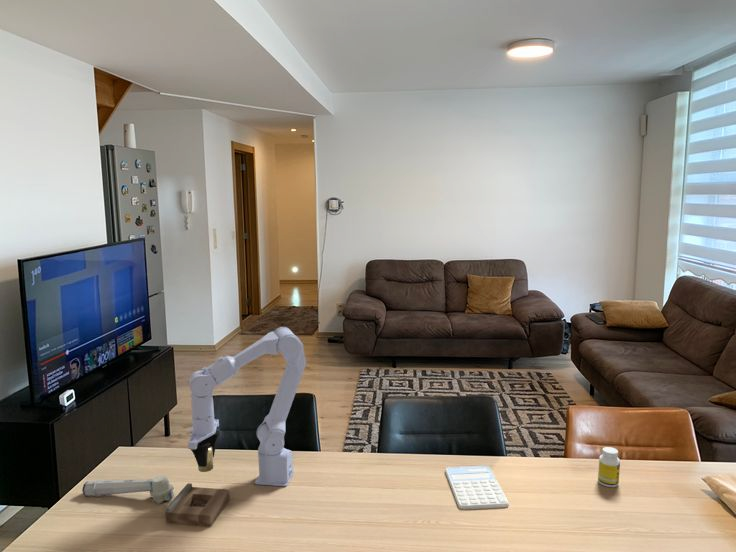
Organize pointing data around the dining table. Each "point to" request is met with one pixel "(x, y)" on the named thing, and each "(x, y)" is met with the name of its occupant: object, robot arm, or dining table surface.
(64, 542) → the dining table surface
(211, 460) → the tan cylinder
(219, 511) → the jig
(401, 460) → the dining table surface
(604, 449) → the supplement bottle
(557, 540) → the dining table surface
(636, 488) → the dining table surface
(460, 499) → the calculator
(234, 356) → the robot arm
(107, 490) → the grey long knobbed part
